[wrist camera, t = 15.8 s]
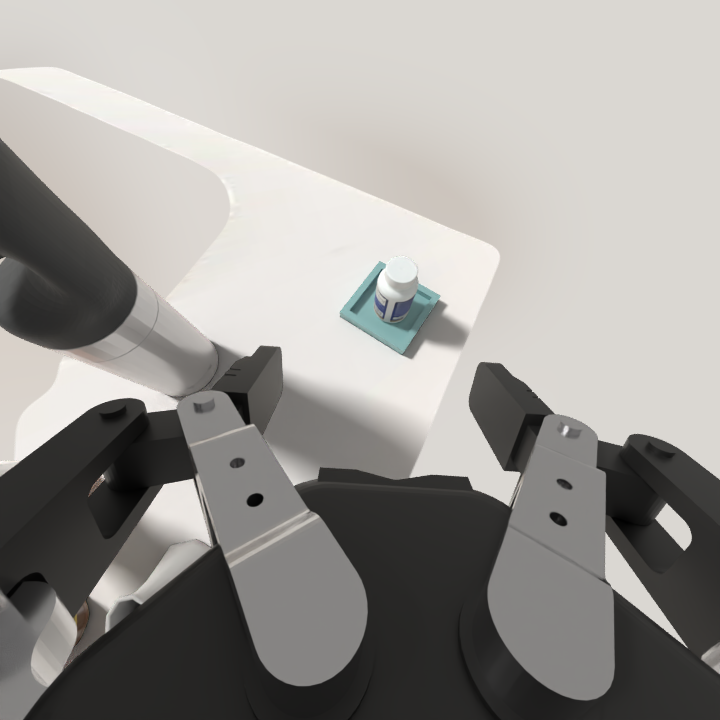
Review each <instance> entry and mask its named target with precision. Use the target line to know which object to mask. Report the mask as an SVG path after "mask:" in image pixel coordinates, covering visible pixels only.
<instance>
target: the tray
mask: <svg viewBox="0 0 720 720" xmlns="http://www.w3.org/2000/svg"><path fill="white" fill-rule="evenodd" d="M385 268H386V264H384V263H382V262H381V261H379V263H378V264H377V265H376V267H375V268H374V269H373V270H372V272H371V273H370V274H369V275H368V277H367V278H366V279H365V281H364V282H363V283H362V284H361V286H360V287H359V288H358V290H357V291H356V292H355V293H354V295H353V296H352V297H351V298H350V300H349V301H348V302H347V304H346V305H345V306H344V307H343V309H342V310H341V311H340V317H342V318H343V319H345V320H346V321H348V322H350V323H351V324H353V325H354V326H356V327H358V328H359V329H361V330H362V331H364V332H366V333H367V334H369V335H370V336H372V337H374V338H375V339H377V340H379V341H380V342H382V343H383V344H385V345H387V346H388V347H390V348H391V349H393V350H395V351H396V352H398V353H399V354H401V355H403V353H404V352H405V350H406V348H407V347H408V345H409V344H410V342H411V341H412V339H413V338H414V336H415V335H416V333H417V332H418V330H419V329H420V327H421V326H422V324H423V323H424V321H425V320H426V318H427V317H428V315H429V314H430V312H431V311H432V309H433V307H434V306H435V304H436V303H437V301H438V300H439V298H440V295H438V294H436V293H435V292H433V291H431V290H429V289H428V288H426V287H424V286H422V285H421V284H419V283H418V289H417V292H416V294H415V297H414V299H413V302H412V304H411V307H410V309H409V312H408V314H407V316H406V317H405V318H404V319H403V320H402V321H400V322H397V323H387V322H384V321H382V320H381V319H379V318H378V317H377V315H376V314H375V311H374V300H375V293H376V287H377V281H378V277H379V275H380V273H381V272H382V270H384V269H385Z"/></svg>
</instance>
